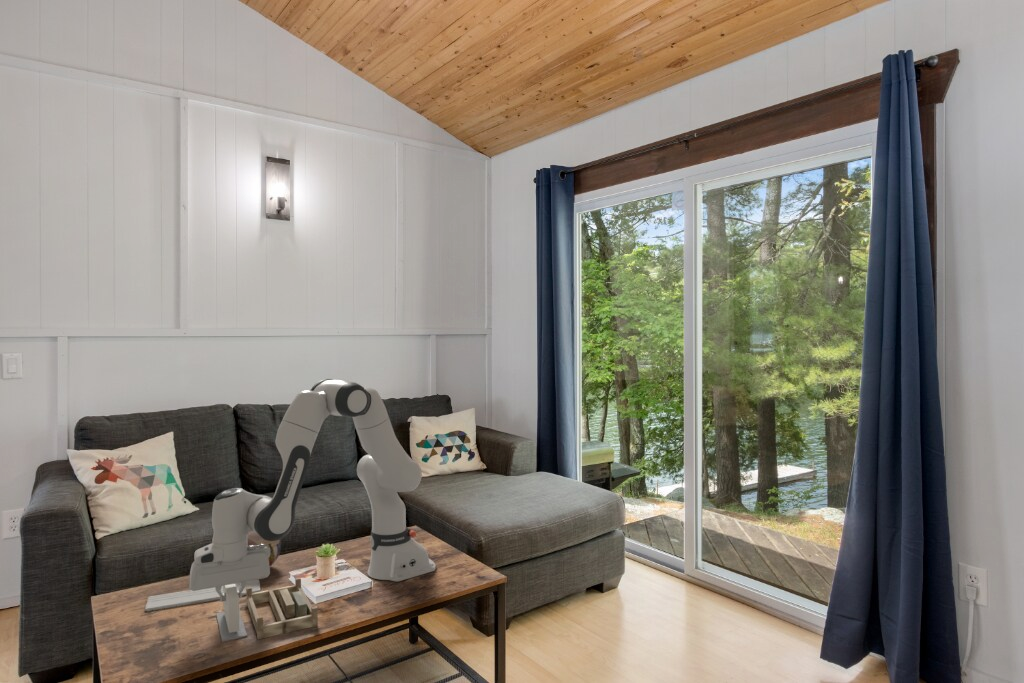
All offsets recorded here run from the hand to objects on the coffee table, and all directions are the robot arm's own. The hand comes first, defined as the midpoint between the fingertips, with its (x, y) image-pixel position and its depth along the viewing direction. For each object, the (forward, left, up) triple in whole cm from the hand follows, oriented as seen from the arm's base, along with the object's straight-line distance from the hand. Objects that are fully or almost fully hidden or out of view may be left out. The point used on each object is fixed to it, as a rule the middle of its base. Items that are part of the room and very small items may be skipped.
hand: (230, 599), depth 174 cm
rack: (-13, 0, -7) cm, 15 cm away
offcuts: (-16, -1, -7) cm, 18 cm away
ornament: (-12, -38, -7) cm, 41 cm away
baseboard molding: (+5, -26, -8) cm, 28 cm away
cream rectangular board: (0, 0, -6) cm, 6 cm away
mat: (0, 0, -7) cm, 7 cm away
